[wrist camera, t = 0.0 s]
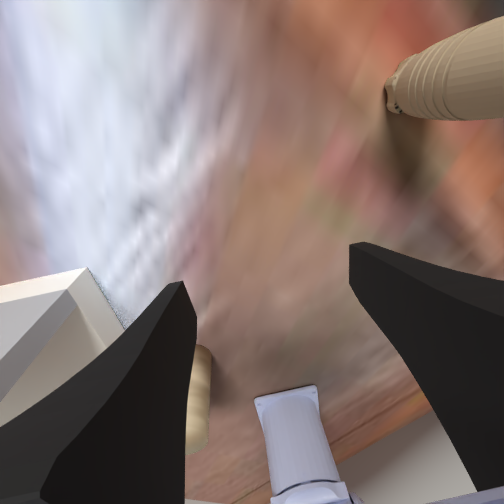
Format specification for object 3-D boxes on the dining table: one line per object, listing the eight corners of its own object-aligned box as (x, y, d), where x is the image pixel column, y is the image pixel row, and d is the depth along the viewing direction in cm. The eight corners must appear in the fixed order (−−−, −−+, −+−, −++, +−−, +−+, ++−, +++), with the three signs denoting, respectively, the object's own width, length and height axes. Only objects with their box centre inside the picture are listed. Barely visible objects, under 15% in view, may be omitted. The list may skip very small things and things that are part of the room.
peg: (215, 365, 28) (213, 448, 20) (180, 373, 28) (166, 459, 20) (206, 340, 26) (199, 423, 19) (168, 348, 26) (148, 435, 19)
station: (180, 422, 32) (159, 571, 21) (27, 455, 32) (-71, 623, 21) (86, 267, 20) (-60, 423, 10) (-154, 318, 20) (-566, 534, 10)
